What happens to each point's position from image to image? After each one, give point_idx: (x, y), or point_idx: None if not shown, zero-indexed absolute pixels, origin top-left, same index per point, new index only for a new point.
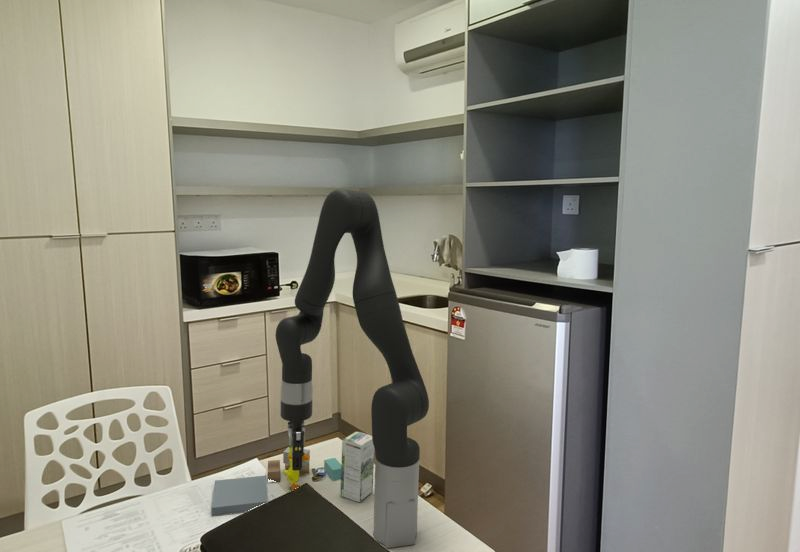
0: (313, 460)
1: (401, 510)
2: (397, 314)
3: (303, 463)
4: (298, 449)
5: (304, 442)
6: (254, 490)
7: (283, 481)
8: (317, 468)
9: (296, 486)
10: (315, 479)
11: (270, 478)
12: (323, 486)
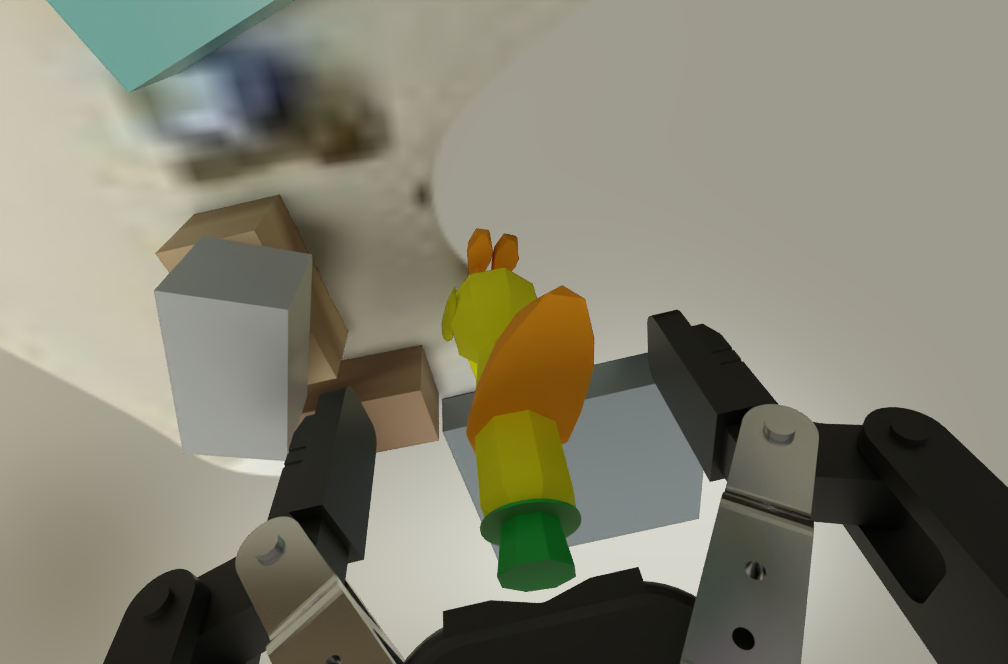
0: (43, 191)
1: None
2: None
3: (308, 279)
4: (342, 410)
5: (812, 532)
6: (596, 439)
7: (415, 329)
8: (171, 139)
9: (503, 254)
10: (359, 134)
11: (435, 400)
12: (462, 51)
